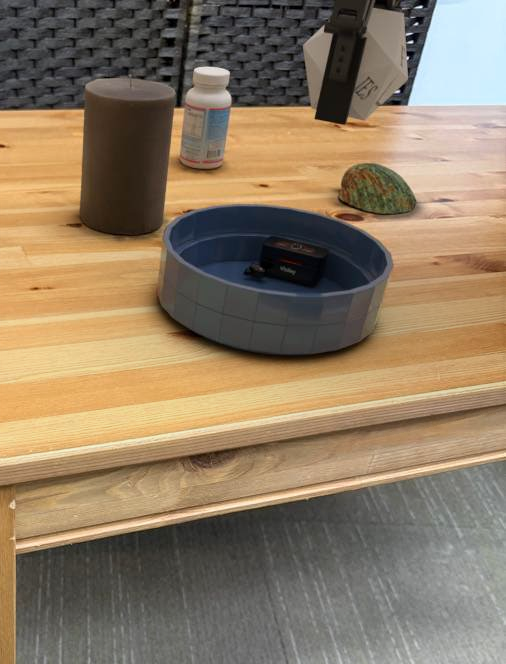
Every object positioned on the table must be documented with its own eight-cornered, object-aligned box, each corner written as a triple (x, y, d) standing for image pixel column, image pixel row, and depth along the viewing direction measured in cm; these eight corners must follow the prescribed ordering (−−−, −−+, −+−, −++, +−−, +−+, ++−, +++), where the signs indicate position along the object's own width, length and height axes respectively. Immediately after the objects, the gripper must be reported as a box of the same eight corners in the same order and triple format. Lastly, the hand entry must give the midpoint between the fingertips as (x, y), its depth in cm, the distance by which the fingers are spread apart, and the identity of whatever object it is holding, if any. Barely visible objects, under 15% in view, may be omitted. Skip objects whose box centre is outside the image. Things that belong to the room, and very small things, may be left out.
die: (325, 136, 71) (425, 37, 66) (266, 59, 72) (359, -44, 67) (352, 153, 78) (444, 65, 73) (298, 83, 79) (385, -9, 74)
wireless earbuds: (257, 263, 86) (262, 233, 83) (322, 280, 83) (330, 249, 81) (241, 279, 82) (247, 248, 80) (309, 297, 80) (317, 265, 78)
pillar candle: (131, 243, 89) (143, 91, 79) (62, 219, 93) (65, 72, 83) (179, 219, 95) (196, 76, 85) (112, 198, 99) (121, 58, 89)
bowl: (391, 289, 84) (409, 231, 80) (350, 383, 69) (369, 318, 65) (198, 245, 90) (206, 189, 86) (122, 323, 75) (127, 260, 71)
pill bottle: (220, 157, 114) (233, 66, 106) (224, 171, 109) (238, 78, 102) (177, 154, 114) (187, 63, 106) (179, 168, 109) (189, 74, 102)
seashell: (391, 183, 96) (327, 159, 102) (380, 218, 99) (318, 193, 105) (440, 177, 101) (377, 154, 107) (428, 211, 104) (367, 187, 110)
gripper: (399, -218, 69) (332, 78, 84) (337, -238, 53) (269, 129, 68) (491, -212, 67) (405, 90, 82) (454, -231, 51) (357, 146, 66)
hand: (343, 108), depth 75 cm, fingers closed on die, 10 cm apart
